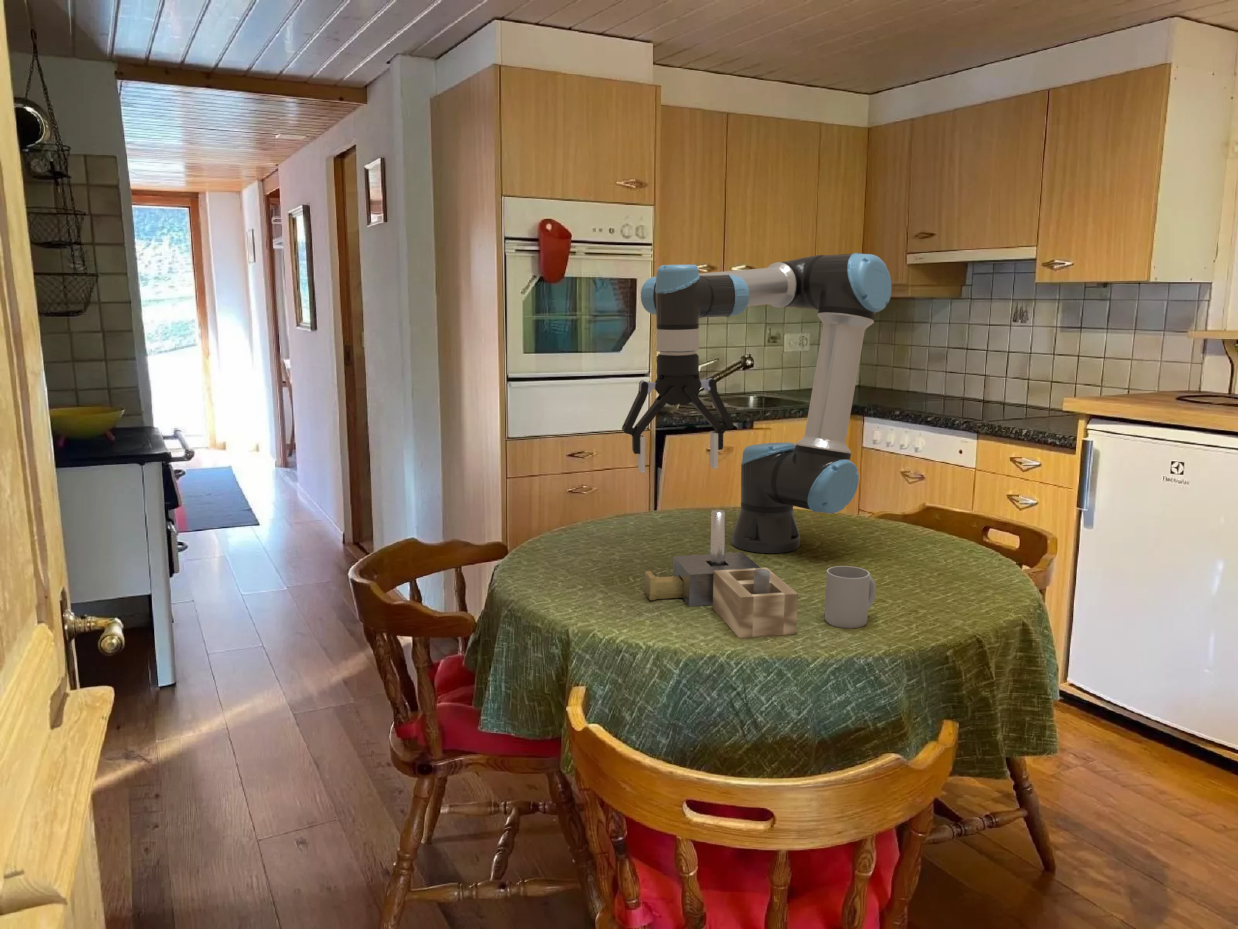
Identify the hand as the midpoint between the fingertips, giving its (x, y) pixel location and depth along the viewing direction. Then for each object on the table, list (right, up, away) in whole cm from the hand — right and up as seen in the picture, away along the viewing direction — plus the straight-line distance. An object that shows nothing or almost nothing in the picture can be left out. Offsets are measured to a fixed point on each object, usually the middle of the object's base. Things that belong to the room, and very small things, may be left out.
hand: (678, 469), depth 169 cm
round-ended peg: (+8, -24, +6) cm, 25 cm away
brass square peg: (-1, -24, +4) cm, 24 cm away
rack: (+12, -26, -8) cm, 30 cm away
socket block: (+8, -24, +6) cm, 25 cm away
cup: (+30, -26, -8) cm, 41 cm away
